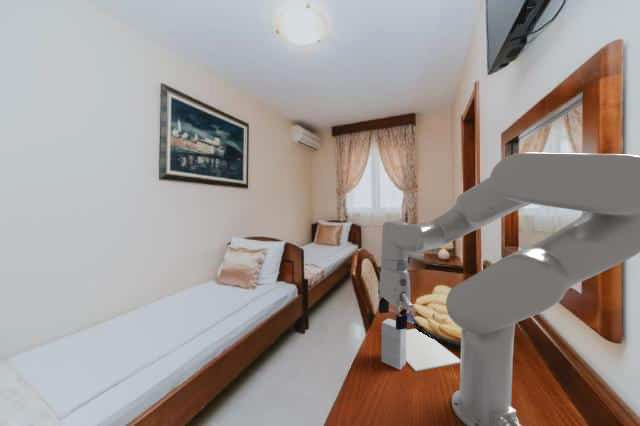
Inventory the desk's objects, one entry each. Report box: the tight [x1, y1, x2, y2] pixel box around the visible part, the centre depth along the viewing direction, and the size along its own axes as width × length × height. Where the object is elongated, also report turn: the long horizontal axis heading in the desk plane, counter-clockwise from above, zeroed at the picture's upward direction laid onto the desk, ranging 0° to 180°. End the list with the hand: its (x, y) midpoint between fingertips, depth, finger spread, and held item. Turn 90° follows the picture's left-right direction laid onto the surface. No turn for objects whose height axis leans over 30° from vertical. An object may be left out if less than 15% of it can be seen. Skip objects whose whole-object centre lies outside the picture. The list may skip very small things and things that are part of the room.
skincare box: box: [381, 318, 407, 371], centre depth 73 cm, size 6×4×12 cm
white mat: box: [380, 328, 461, 372], centre depth 81 cm, size 20×16×1 cm
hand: (391, 320), depth 73 cm, fingers open, 9 cm apart
